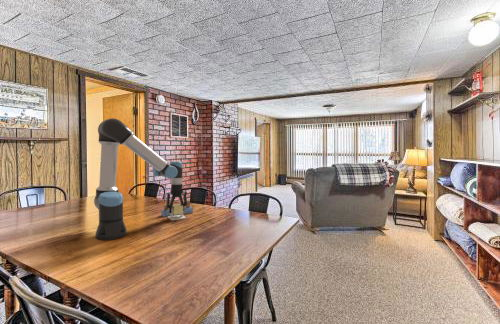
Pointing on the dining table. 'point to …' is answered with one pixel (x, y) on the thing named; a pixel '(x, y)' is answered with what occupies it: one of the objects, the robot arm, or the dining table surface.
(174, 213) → the lever cap
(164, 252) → the dining table surface
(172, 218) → the felt mat
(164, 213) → the plane body
